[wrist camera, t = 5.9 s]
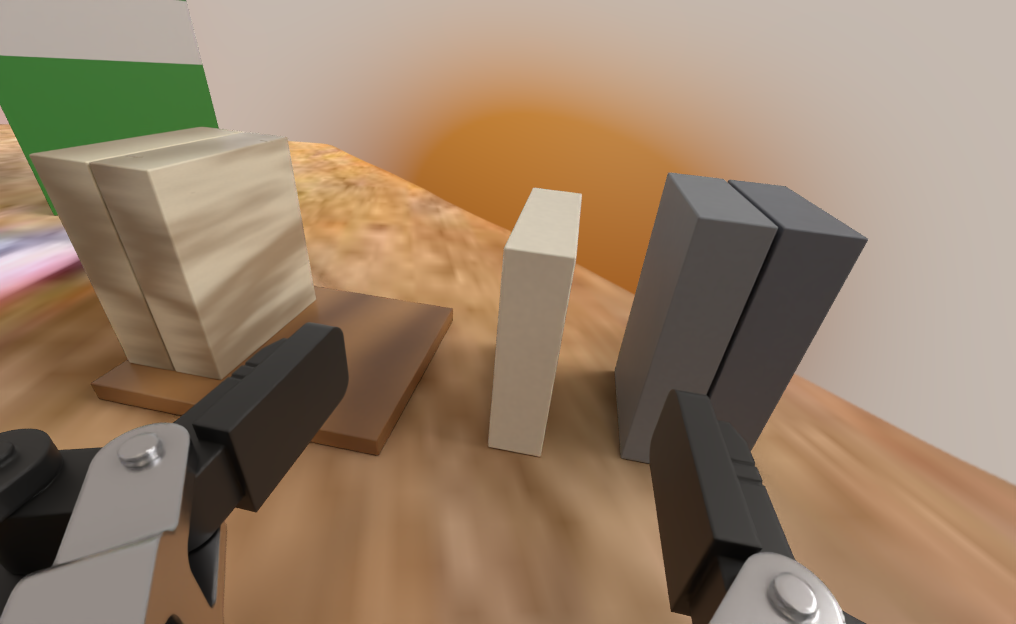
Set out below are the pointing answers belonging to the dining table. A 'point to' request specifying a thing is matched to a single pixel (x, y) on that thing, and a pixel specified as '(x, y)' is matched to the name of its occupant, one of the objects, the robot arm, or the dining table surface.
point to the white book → (532, 318)
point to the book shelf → (223, 275)
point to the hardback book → (99, 72)
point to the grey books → (727, 302)
